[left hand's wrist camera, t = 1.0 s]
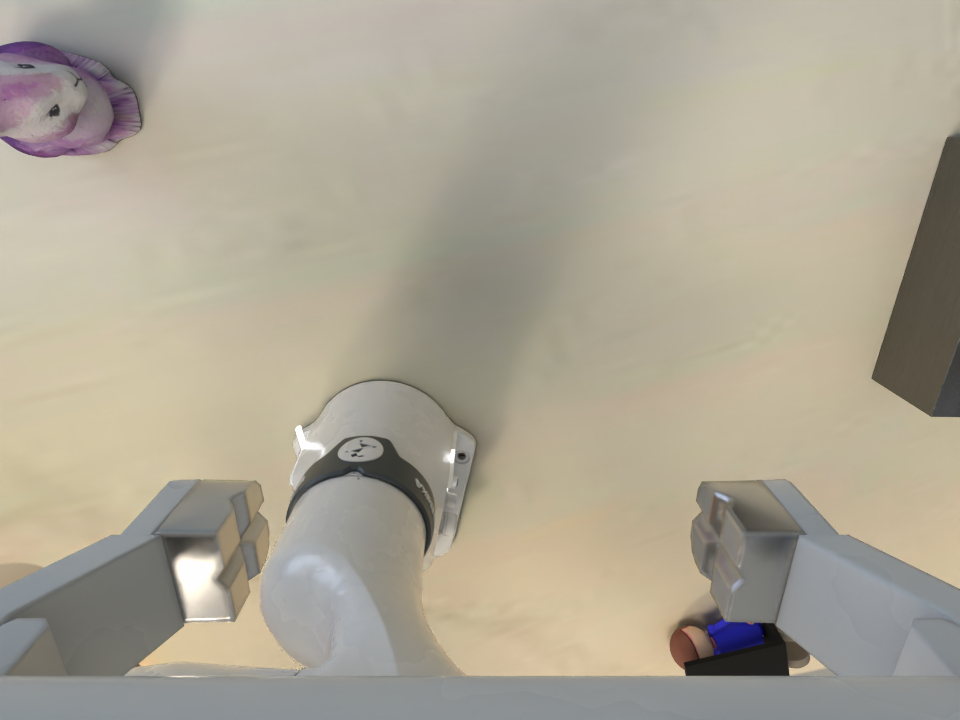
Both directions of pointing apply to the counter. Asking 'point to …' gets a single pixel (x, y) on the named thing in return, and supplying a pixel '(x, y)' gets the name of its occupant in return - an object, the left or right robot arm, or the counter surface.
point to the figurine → (61, 102)
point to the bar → (929, 304)
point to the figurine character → (736, 650)
